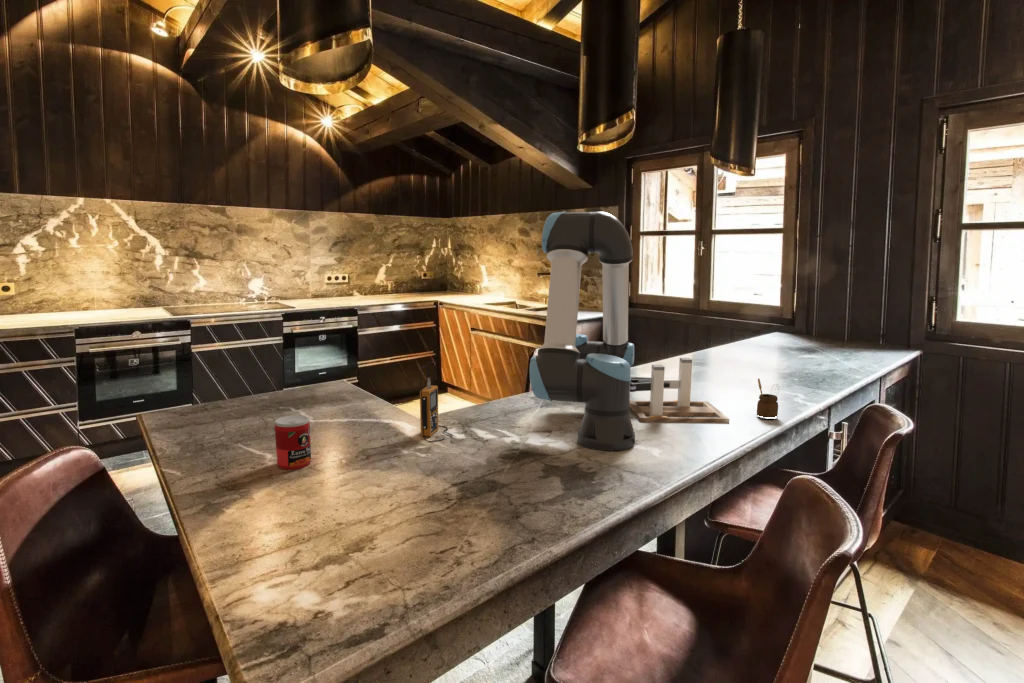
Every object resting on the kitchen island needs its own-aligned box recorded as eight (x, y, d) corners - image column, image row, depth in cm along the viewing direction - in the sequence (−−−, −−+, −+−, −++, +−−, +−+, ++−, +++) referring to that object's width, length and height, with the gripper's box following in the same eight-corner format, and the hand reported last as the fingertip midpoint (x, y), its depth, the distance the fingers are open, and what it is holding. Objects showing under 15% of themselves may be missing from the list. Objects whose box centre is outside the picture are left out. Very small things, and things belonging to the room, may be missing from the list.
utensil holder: (774, 421, 174) (777, 383, 172) (753, 418, 177) (755, 380, 176) (779, 417, 178) (782, 379, 176) (758, 413, 182) (760, 376, 180)
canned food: (291, 472, 132) (289, 426, 130) (269, 465, 136) (267, 420, 134) (318, 462, 138) (316, 418, 137) (297, 456, 143) (294, 413, 141)
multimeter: (451, 444, 152) (450, 370, 149) (415, 441, 154) (414, 368, 151) (466, 427, 166) (466, 360, 163) (433, 425, 168) (432, 358, 165)
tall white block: (680, 409, 182) (682, 359, 180) (677, 406, 186) (679, 357, 183) (689, 409, 182) (692, 359, 180) (686, 406, 186) (689, 357, 183)
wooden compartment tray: (639, 425, 169) (640, 416, 168) (627, 407, 189) (628, 399, 188) (728, 426, 168) (729, 417, 168) (707, 408, 188) (707, 400, 188)
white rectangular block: (652, 419, 171) (654, 366, 168) (649, 416, 174) (651, 364, 172) (662, 419, 171) (664, 367, 168) (659, 416, 174) (661, 364, 172)
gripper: (601, 390, 191) (673, 390, 190) (607, 399, 178) (683, 400, 177) (602, 367, 189) (674, 368, 189) (608, 376, 177) (685, 376, 176)
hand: (678, 384), depth 183 cm, fingers closed
